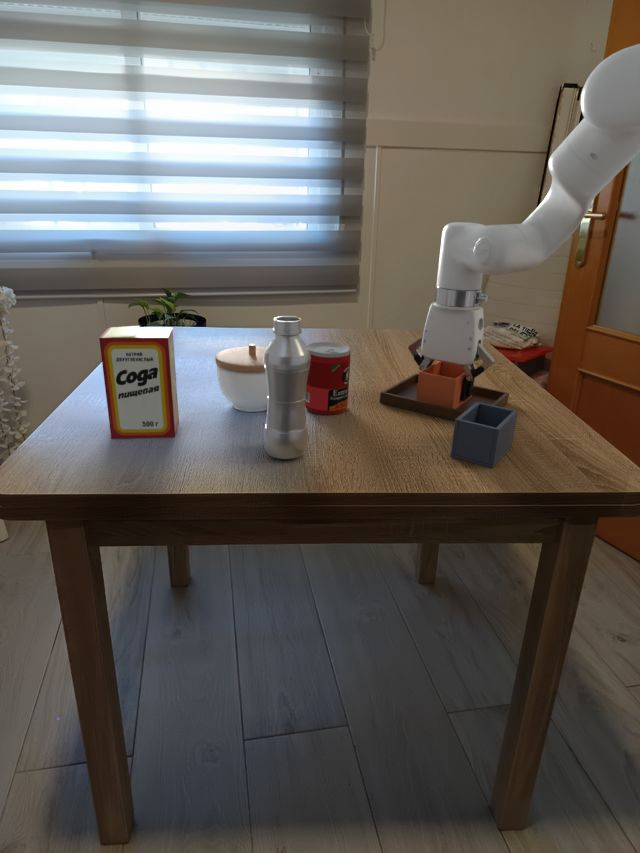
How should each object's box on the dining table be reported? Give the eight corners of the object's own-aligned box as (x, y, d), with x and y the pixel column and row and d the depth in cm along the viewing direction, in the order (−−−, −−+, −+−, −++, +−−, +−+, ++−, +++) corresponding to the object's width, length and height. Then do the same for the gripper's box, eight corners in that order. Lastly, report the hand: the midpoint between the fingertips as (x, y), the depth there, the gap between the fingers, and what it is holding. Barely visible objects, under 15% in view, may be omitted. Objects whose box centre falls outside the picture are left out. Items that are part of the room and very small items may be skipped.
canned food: (335, 418, 98) (338, 356, 93) (295, 409, 101) (296, 348, 97) (355, 405, 104) (358, 346, 100) (317, 397, 107) (319, 339, 103)
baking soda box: (178, 421, 94) (172, 325, 88) (175, 437, 88) (167, 335, 82) (119, 422, 93) (108, 325, 87) (111, 438, 87) (98, 335, 81)
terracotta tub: (471, 396, 109) (476, 366, 107) (452, 411, 101) (456, 379, 99) (437, 389, 112) (440, 359, 110) (415, 403, 105) (418, 371, 102)
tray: (507, 402, 108) (509, 392, 107) (480, 427, 96) (482, 416, 95) (414, 382, 118) (415, 373, 117) (379, 402, 106) (380, 392, 105)
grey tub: (511, 446, 89) (518, 410, 87) (492, 468, 82) (499, 429, 80) (472, 436, 92) (477, 401, 90) (450, 456, 85) (455, 419, 83)
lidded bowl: (226, 421, 95) (224, 357, 91) (210, 396, 106) (208, 338, 101) (297, 413, 99) (299, 351, 95) (275, 390, 110) (276, 334, 106)
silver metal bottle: (253, 455, 83) (251, 318, 76) (285, 441, 88) (287, 311, 81) (285, 469, 80) (287, 326, 72) (317, 454, 84) (322, 319, 77)
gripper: (513, 301, 98) (497, 399, 105) (420, 289, 107) (410, 380, 114) (499, 307, 92) (483, 411, 99) (402, 294, 101) (393, 390, 108)
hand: (445, 394), depth 106 cm, fingers closed on terracotta tub, 7 cm apart
